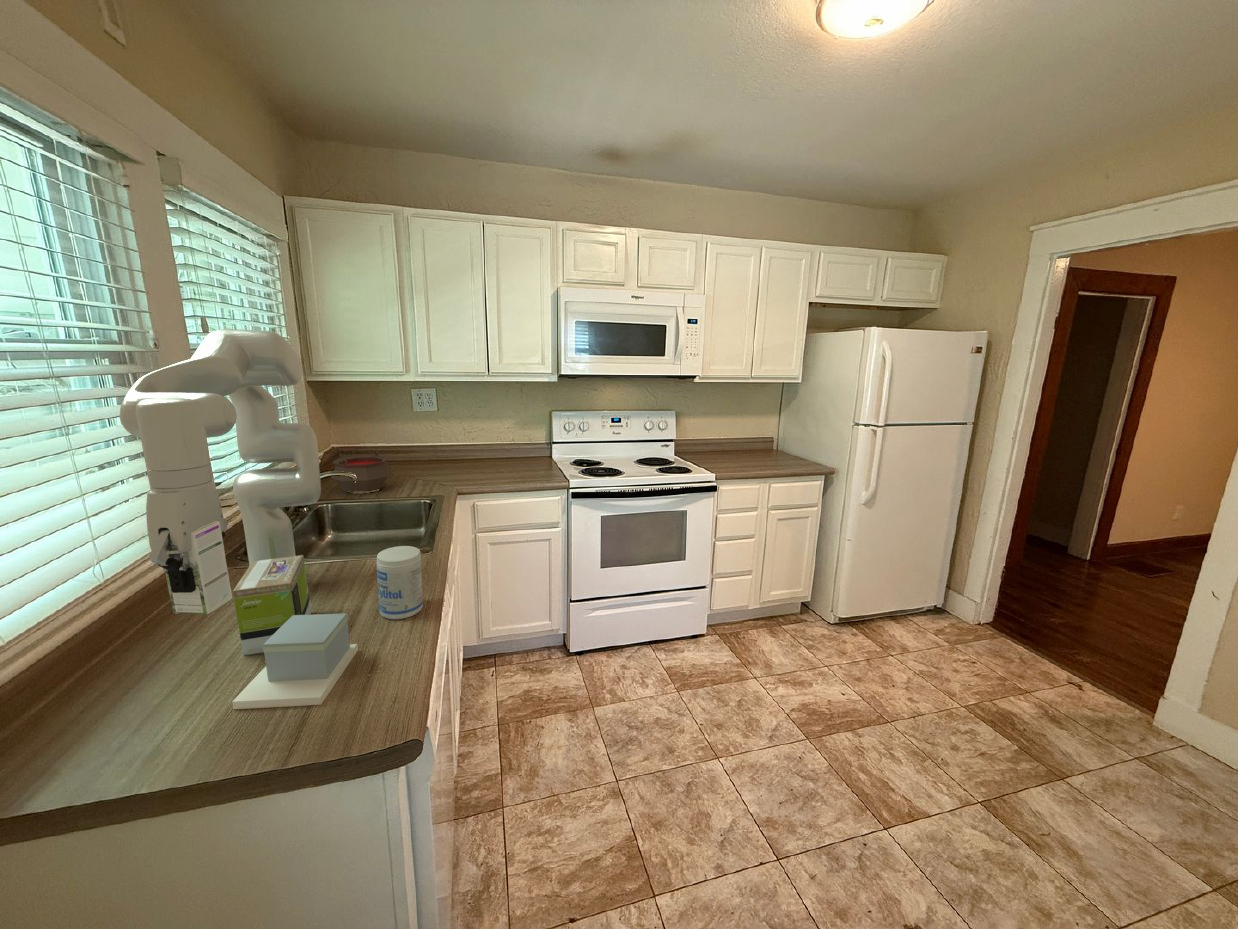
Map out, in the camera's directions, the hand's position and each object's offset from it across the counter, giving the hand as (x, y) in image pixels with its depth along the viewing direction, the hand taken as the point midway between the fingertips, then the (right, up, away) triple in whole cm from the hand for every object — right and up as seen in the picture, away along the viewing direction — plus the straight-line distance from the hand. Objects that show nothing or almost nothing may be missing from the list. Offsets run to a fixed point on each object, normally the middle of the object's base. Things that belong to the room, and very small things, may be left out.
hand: (199, 581), depth 81 cm
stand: (+10, -21, +11) cm, 25 cm away
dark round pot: (-43, +8, +133) cm, 140 cm away
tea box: (-4, -17, +25) cm, 31 cm away
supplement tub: (+18, -16, +35) cm, 43 cm away
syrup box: (0, -5, +1) cm, 5 cm away
